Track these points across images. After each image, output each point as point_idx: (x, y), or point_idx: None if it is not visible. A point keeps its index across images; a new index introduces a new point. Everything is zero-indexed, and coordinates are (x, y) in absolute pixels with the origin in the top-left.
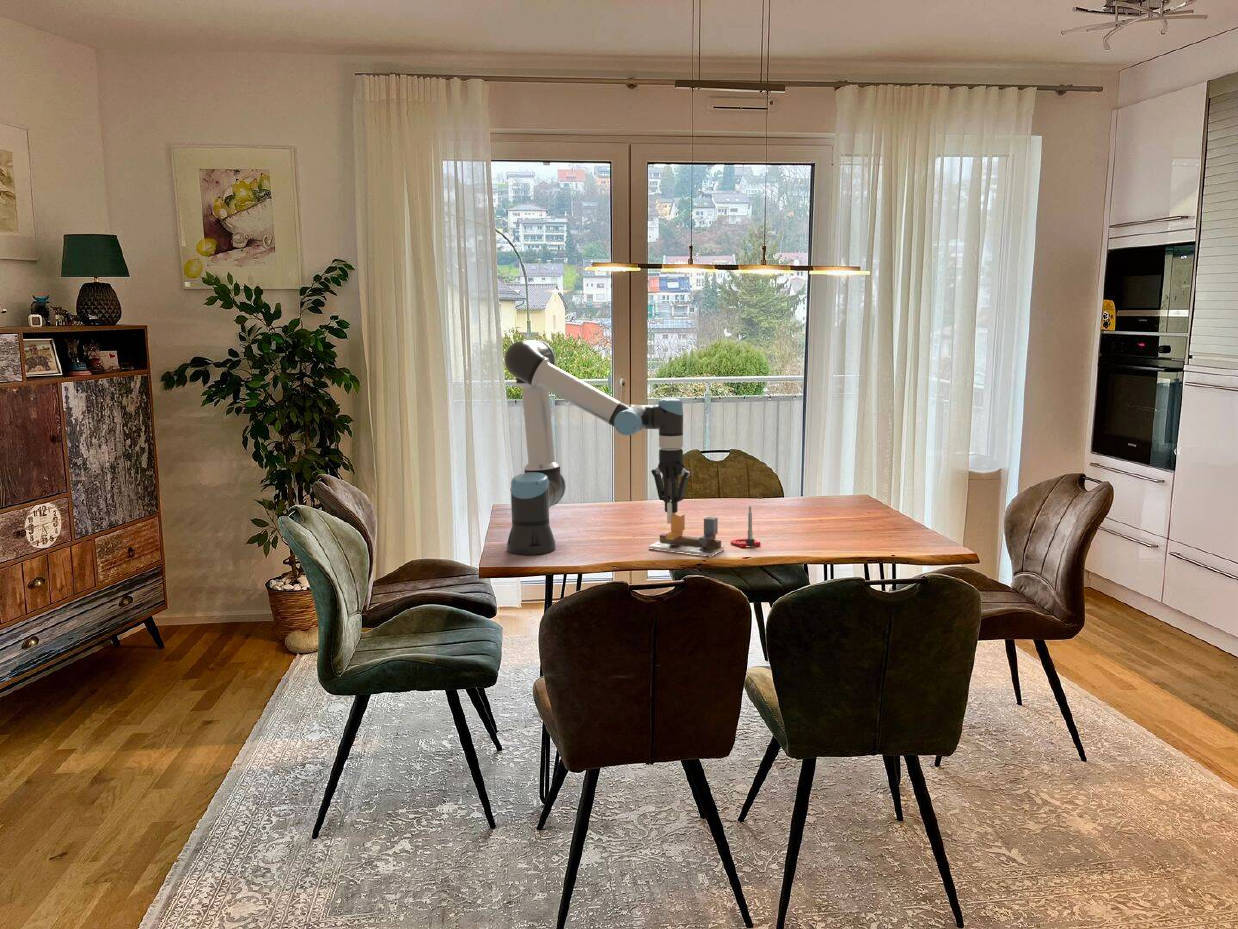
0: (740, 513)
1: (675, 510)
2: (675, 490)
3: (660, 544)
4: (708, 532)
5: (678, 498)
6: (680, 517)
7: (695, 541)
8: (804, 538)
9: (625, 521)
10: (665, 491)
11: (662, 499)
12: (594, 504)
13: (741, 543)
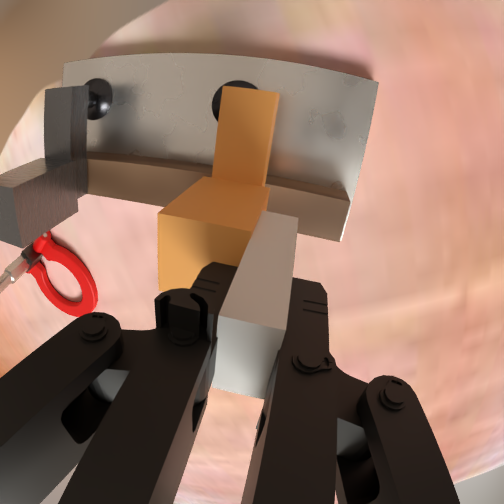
0: (214, 479)
1: (200, 273)
2: (86, 473)
3: (324, 125)
4: (48, 163)
5: (82, 341)
6: (163, 215)
7: (138, 160)
8: (21, 337)
9: (460, 425)
10: (301, 499)
11: (363, 391)
12: (484, 470)
13: (39, 237)
